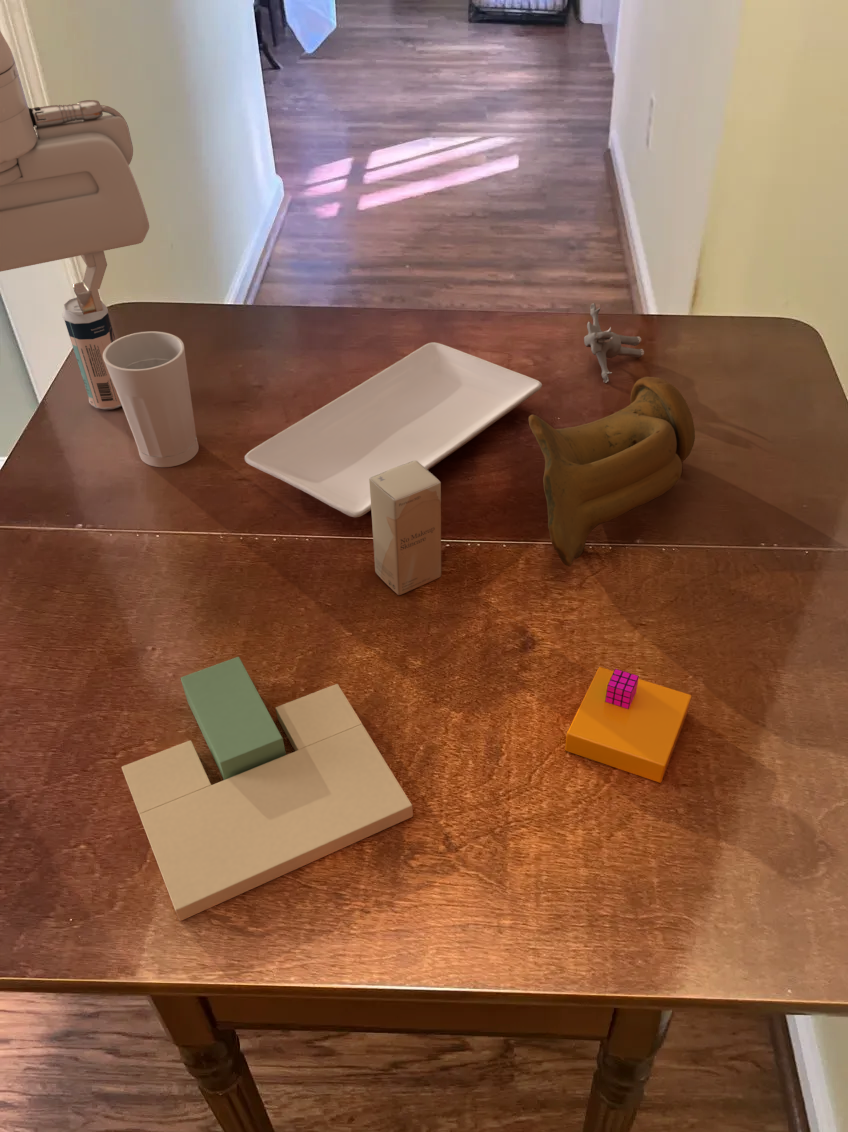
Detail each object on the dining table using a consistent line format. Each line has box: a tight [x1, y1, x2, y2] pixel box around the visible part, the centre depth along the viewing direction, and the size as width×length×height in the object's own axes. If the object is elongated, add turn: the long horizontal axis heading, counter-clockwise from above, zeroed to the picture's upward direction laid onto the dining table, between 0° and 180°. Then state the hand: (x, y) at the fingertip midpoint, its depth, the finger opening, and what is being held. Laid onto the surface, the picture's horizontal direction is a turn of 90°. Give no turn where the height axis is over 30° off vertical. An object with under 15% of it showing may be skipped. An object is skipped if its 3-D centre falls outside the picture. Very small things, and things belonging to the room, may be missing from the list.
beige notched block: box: [121, 683, 414, 922], centre depth 75 cm, size 18×14×2 cm
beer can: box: [61, 296, 122, 411], centre depth 110 cm, size 5×5×12 cm
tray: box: [244, 341, 543, 518], centre depth 108 cm, size 17×32×4 cm, turn 142°
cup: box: [103, 330, 200, 468], centre depth 103 cm, size 8×8×12 cm
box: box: [369, 460, 442, 596], centre depth 90 cm, size 5×4×11 cm
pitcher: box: [528, 376, 696, 567], centre depth 97 cm, size 18×13×22 cm
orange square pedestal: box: [564, 666, 692, 784], centre depth 79 cm, size 8×8×4 cm
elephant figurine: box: [583, 302, 645, 384], centre depth 120 cm, size 10×6×9 cm
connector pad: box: [180, 656, 287, 780], centre depth 79 cm, size 10×5×3 cm, turn 29°
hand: (26, 324), depth 72 cm, fingers open, 8 cm apart
